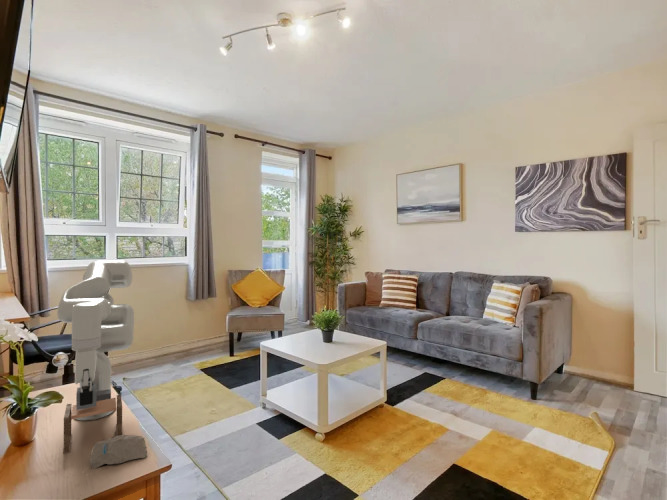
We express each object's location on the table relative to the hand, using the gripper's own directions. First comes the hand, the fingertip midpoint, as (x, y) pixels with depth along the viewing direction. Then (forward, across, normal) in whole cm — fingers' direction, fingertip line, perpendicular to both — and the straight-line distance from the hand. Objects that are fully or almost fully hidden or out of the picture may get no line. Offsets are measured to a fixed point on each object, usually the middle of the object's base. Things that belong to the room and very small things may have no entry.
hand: (86, 399), depth 111 cm
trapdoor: (+5, -5, +2) cm, 7 cm away
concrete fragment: (+14, +15, +9) cm, 22 cm away
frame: (+13, -1, +2) cm, 13 cm away
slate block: (+2, 0, 0) cm, 2 cm away
